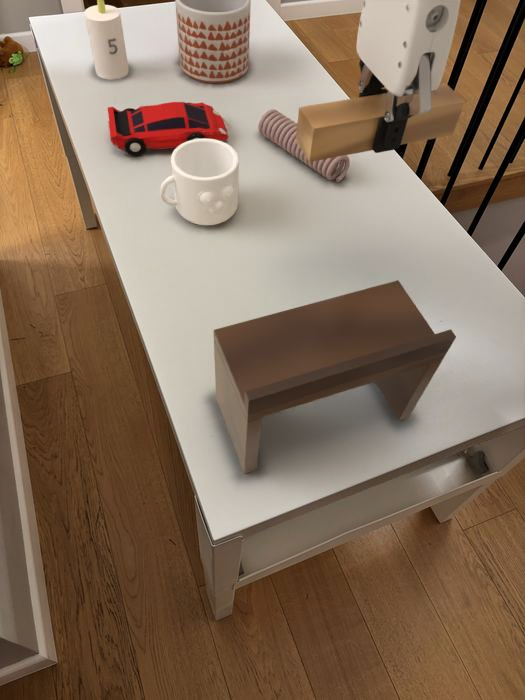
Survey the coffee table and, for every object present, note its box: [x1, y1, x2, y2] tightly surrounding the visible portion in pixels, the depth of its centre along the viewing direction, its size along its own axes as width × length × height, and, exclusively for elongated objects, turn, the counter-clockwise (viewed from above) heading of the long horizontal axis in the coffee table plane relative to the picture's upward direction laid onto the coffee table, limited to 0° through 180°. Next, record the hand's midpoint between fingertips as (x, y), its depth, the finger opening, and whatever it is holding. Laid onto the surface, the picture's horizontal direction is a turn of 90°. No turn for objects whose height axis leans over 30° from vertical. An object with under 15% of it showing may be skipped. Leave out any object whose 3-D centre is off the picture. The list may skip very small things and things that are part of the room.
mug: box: [159, 138, 240, 226], centre depth 80 cm, size 12×10×9 cm
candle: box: [83, 0, 130, 81], centre depth 99 cm, size 6×6×15 cm
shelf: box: [213, 279, 457, 475], centre depth 58 cm, size 10×21×16 cm, turn 111°
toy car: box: [107, 101, 229, 157], centre depth 92 cm, size 10×20×5 cm, turn 107°
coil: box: [257, 108, 351, 183], centre depth 91 cm, size 5×5×18 cm
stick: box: [296, 82, 465, 162], centre depth 59 cm, size 4×18×4 cm, turn 110°
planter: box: [174, 0, 252, 84], centre depth 103 cm, size 14×14×13 cm
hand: (376, 135), depth 61 cm, fingers closed on stick, 4 cm apart
